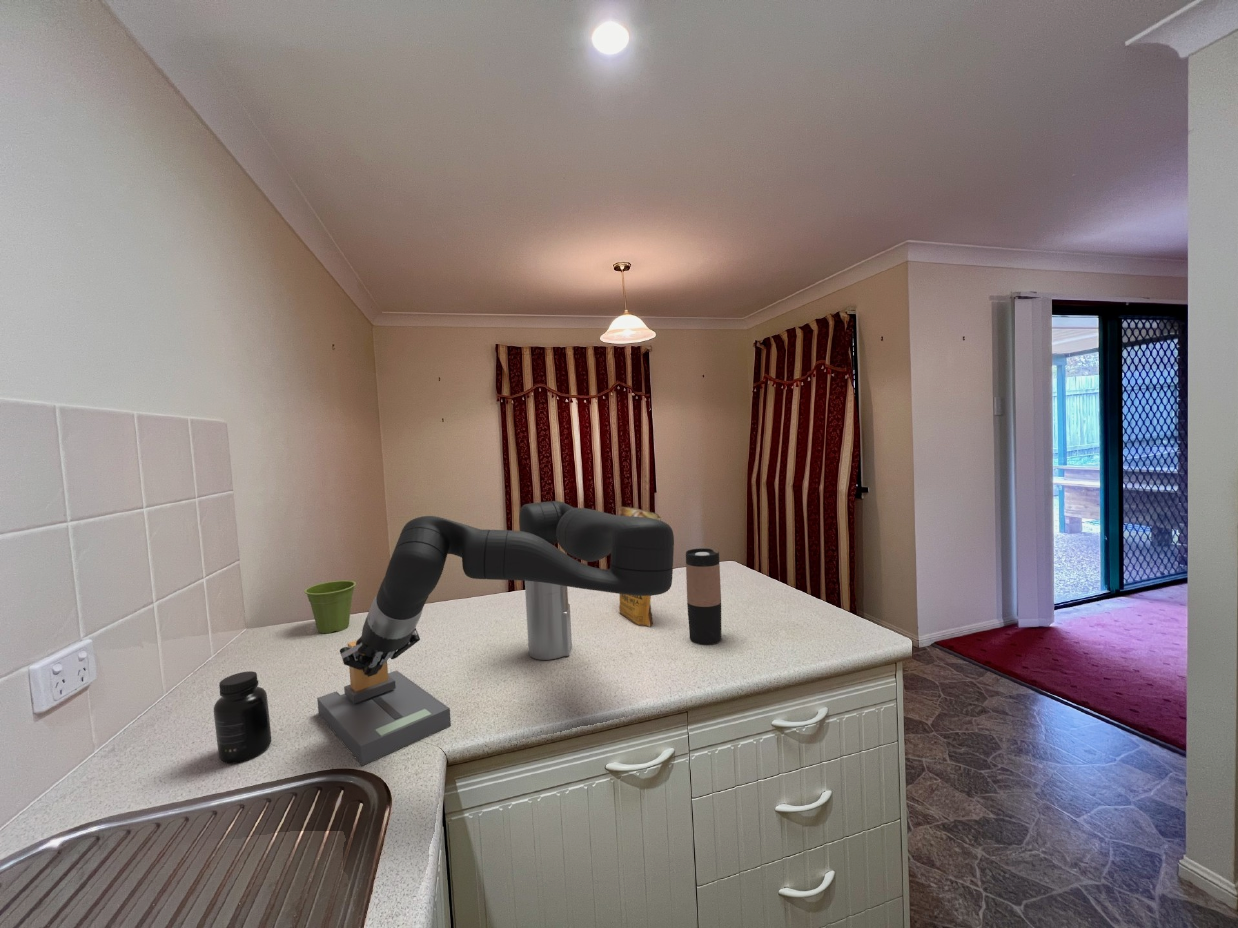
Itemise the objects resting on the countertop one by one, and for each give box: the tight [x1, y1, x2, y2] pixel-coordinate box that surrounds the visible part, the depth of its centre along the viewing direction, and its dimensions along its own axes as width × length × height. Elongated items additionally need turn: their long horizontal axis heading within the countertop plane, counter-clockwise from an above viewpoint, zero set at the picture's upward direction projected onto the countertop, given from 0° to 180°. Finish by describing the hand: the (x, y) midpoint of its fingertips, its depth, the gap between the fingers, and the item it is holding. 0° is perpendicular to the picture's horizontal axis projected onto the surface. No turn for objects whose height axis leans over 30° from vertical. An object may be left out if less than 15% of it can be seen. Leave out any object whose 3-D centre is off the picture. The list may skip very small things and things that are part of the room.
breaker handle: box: [343, 639, 396, 704], centre depth 92 cm, size 5×7×9 cm
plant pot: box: [303, 579, 357, 634], centre depth 136 cm, size 12×12×11 cm
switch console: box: [316, 669, 452, 767], centre depth 89 cm, size 22×14×3 cm, turn 45°
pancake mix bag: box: [618, 506, 662, 627], centre depth 133 cm, size 7×19×28 cm, turn 25°
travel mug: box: [685, 547, 722, 646], centre depth 117 cm, size 8×8×20 cm
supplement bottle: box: [213, 670, 272, 765], centre depth 81 cm, size 7×7×12 cm
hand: (370, 670), depth 91 cm, fingers closed
